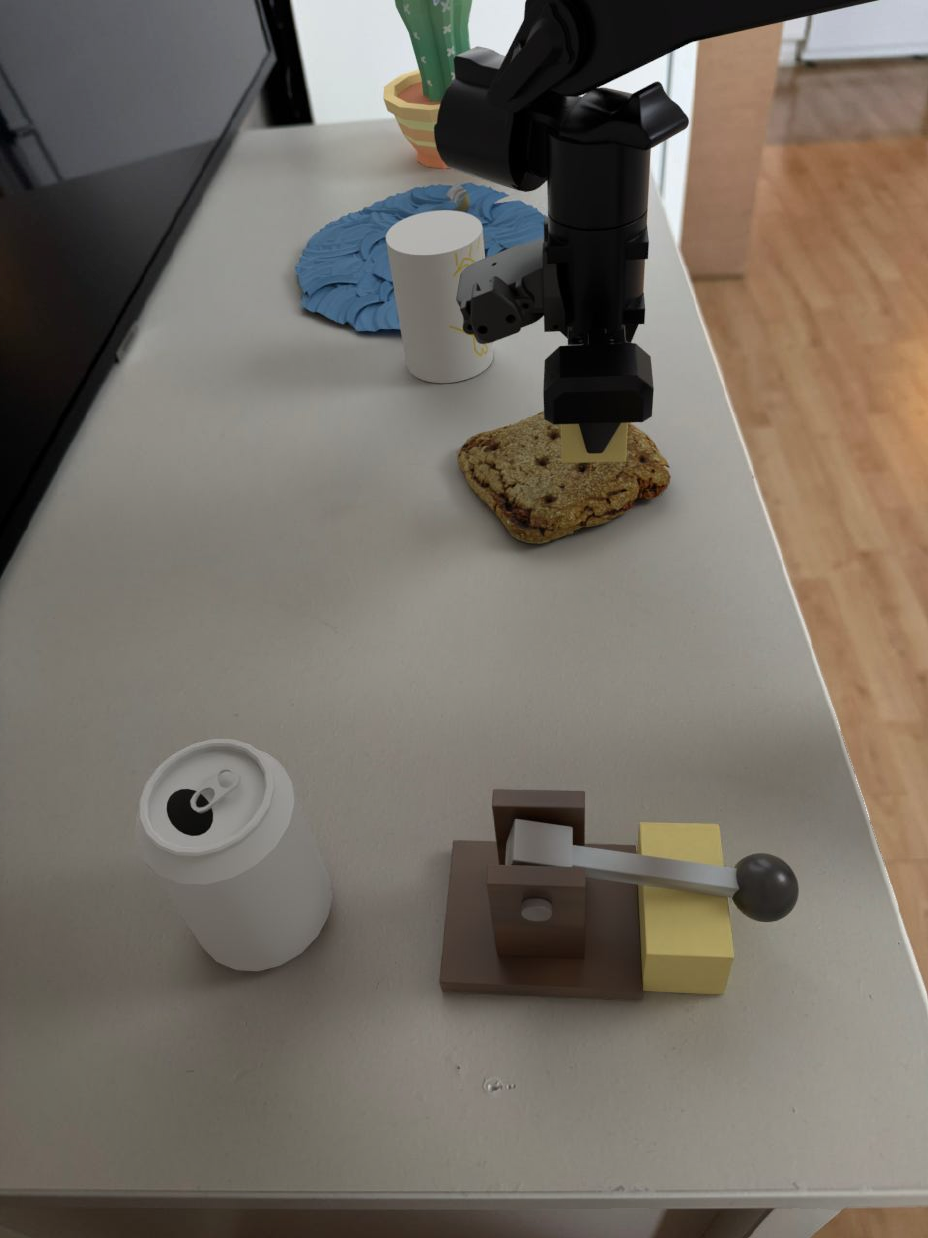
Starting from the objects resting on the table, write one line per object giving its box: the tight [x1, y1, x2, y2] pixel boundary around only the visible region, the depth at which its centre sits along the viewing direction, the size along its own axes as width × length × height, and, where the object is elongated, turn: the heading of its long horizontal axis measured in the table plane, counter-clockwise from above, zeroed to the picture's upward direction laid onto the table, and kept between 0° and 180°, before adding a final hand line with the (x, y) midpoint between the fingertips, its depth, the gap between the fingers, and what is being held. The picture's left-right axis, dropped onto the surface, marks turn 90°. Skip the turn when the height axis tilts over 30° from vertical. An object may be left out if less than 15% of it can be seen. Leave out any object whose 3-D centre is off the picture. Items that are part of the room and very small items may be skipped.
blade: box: [505, 819, 800, 923], centre depth 45 cm, size 14×3×3 cm, turn 85°
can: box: [135, 738, 333, 972], centre depth 48 cm, size 8×8×12 cm
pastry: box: [457, 410, 672, 545], centre depth 74 cm, size 17×17×3 cm
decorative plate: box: [294, 182, 548, 332], centre depth 99 cm, size 30×30×5 cm
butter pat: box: [561, 423, 628, 463], centre depth 66 cm, size 4×4×4 cm
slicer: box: [438, 788, 644, 1002], centre depth 47 cm, size 10×8×9 cm
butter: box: [636, 821, 735, 996], centre depth 48 cm, size 4×7×4 cm, turn 175°
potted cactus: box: [382, 0, 473, 170], centre depth 111 cm, size 15×15×25 cm
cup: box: [386, 210, 494, 384], centre depth 84 cm, size 8×8×12 cm
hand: (594, 431), depth 66 cm, fingers closed on butter pat, 4 cm apart
